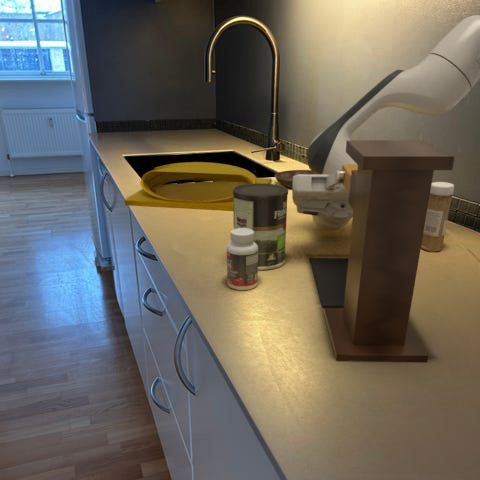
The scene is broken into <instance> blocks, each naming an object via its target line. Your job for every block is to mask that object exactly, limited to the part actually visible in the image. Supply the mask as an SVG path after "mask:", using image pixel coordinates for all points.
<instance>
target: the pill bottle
mask: <svg viewBox="0 0 480 480" xmlns="http://www.w3.org/2000/svg"><path fill="white" fill-rule="evenodd" d="M229 237H230V238H229V239H230V242H229V243H228V244H227V245H226V282H227V283H226V284H227V286H228V287H229V288H231V289H232V290H237V291H249V290H252V289H254V288H256V287H257V286H258V280H259V270H258V245H257V244H256V243H255V242H253V241H254V231H253V230H251V229H248V228H237V229H234V228H233V229H231V230H230V236H229Z"/></svg>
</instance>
